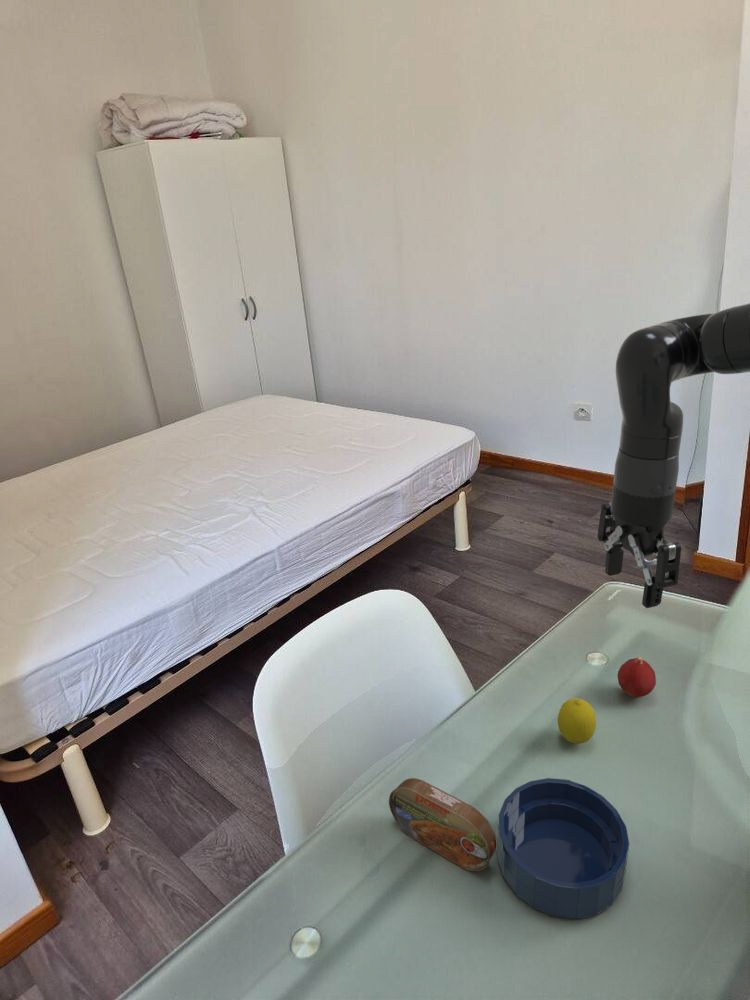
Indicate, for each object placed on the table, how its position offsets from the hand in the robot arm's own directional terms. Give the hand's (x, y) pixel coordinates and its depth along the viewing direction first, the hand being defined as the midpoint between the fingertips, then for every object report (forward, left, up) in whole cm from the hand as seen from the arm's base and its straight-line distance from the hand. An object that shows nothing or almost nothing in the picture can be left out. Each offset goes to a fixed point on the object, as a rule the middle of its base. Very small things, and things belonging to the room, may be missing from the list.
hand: (630, 589), depth 95 cm
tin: (+7, +33, -26) cm, 43 cm away
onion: (+1, -9, -26) cm, 28 cm away
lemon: (+3, +6, -26) cm, 27 cm away
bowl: (-6, +25, -26) cm, 36 cm away
